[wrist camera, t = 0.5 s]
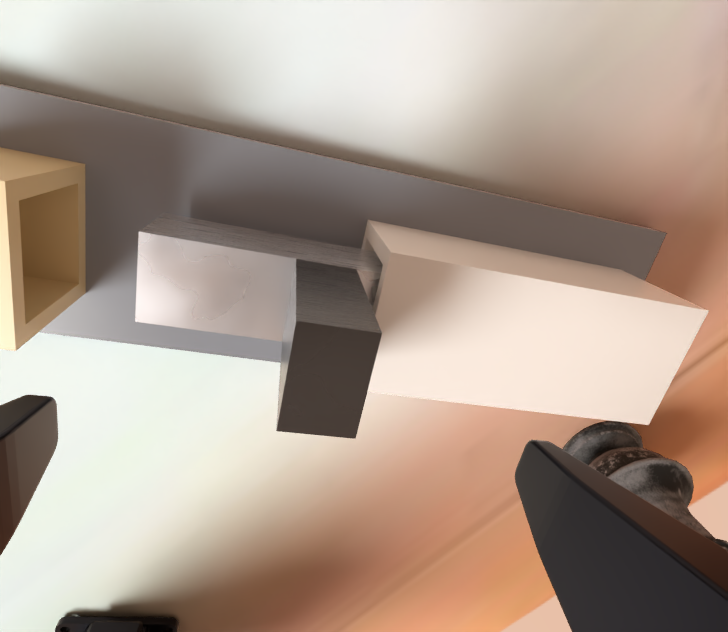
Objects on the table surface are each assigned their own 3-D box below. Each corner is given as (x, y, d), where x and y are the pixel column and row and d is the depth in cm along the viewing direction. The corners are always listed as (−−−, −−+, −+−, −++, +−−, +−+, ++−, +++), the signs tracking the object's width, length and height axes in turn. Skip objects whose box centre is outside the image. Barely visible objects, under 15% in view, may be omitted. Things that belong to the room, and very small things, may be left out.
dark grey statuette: (556, 508, 28) (721, 754, 17) (545, 436, 26) (728, 668, 15) (647, 478, 28) (868, 704, 17) (644, 403, 26) (899, 611, 15)
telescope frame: (578, 390, 25) (657, 467, 19) (-37, 310, 19) (-173, 388, 13) (651, 228, 22) (770, 265, 16) (-63, 69, 16) (-256, 43, 10)
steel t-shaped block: (551, 349, 21) (686, 470, 14) (160, 290, 18) (64, 410, 10) (576, 288, 20) (736, 384, 13) (164, 212, 17) (61, 286, 9)
